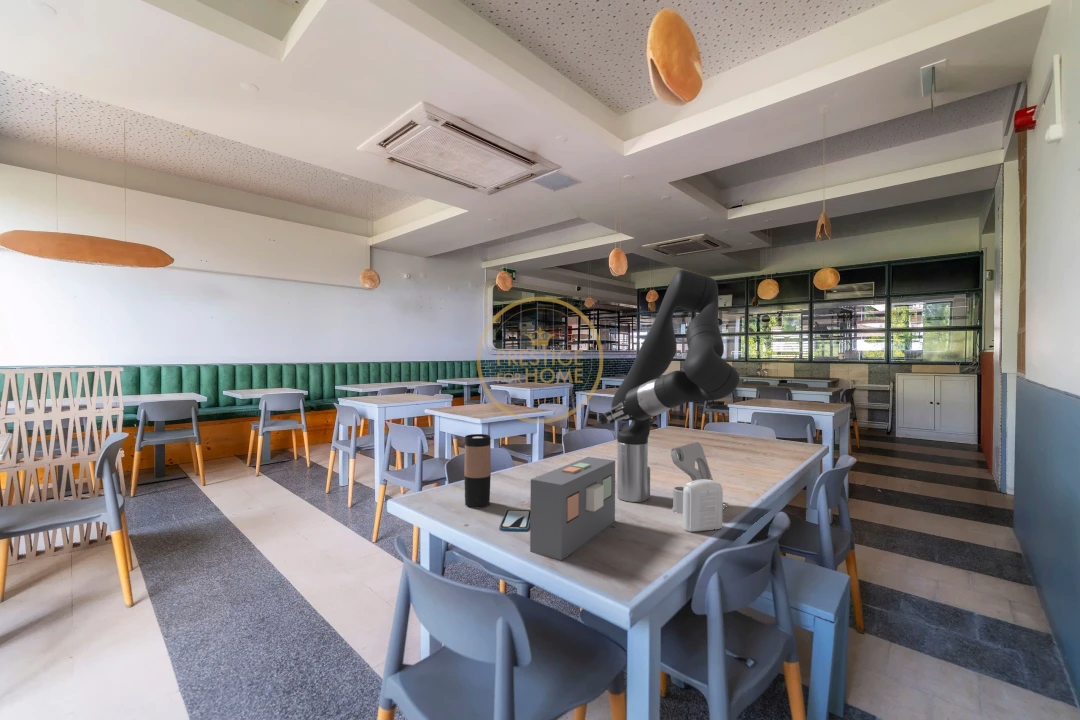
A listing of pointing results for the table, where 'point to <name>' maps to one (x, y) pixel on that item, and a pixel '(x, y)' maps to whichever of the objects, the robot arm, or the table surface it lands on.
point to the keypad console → (551, 507)
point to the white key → (594, 496)
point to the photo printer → (702, 505)
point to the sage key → (607, 486)
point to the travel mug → (477, 470)
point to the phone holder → (689, 469)
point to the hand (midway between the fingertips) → (601, 419)
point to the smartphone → (515, 520)
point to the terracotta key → (572, 506)
